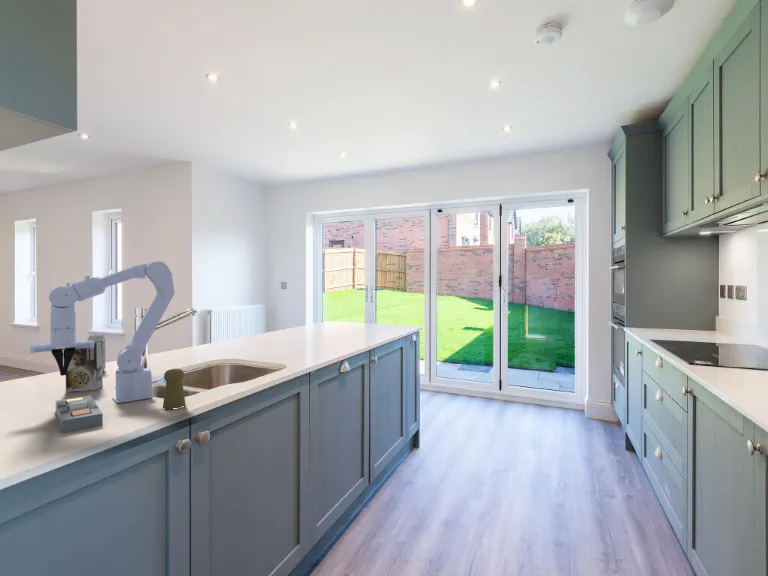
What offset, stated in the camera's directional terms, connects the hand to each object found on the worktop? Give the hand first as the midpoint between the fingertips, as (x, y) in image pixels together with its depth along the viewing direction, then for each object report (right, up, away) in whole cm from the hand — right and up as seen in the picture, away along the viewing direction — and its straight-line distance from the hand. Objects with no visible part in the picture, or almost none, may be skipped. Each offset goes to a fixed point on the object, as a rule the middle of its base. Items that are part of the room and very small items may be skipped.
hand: (63, 374), depth 117 cm
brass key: (+7, -9, -4) cm, 12 cm away
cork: (+32, -10, +1) cm, 33 cm away
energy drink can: (-23, -9, +46) cm, 53 cm away
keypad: (+11, -10, -9) cm, 17 cm away
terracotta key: (+16, -9, -14) cm, 23 cm away
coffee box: (-8, -9, +20) cm, 23 cm away
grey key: (+11, -8, -9) cm, 17 cm away
